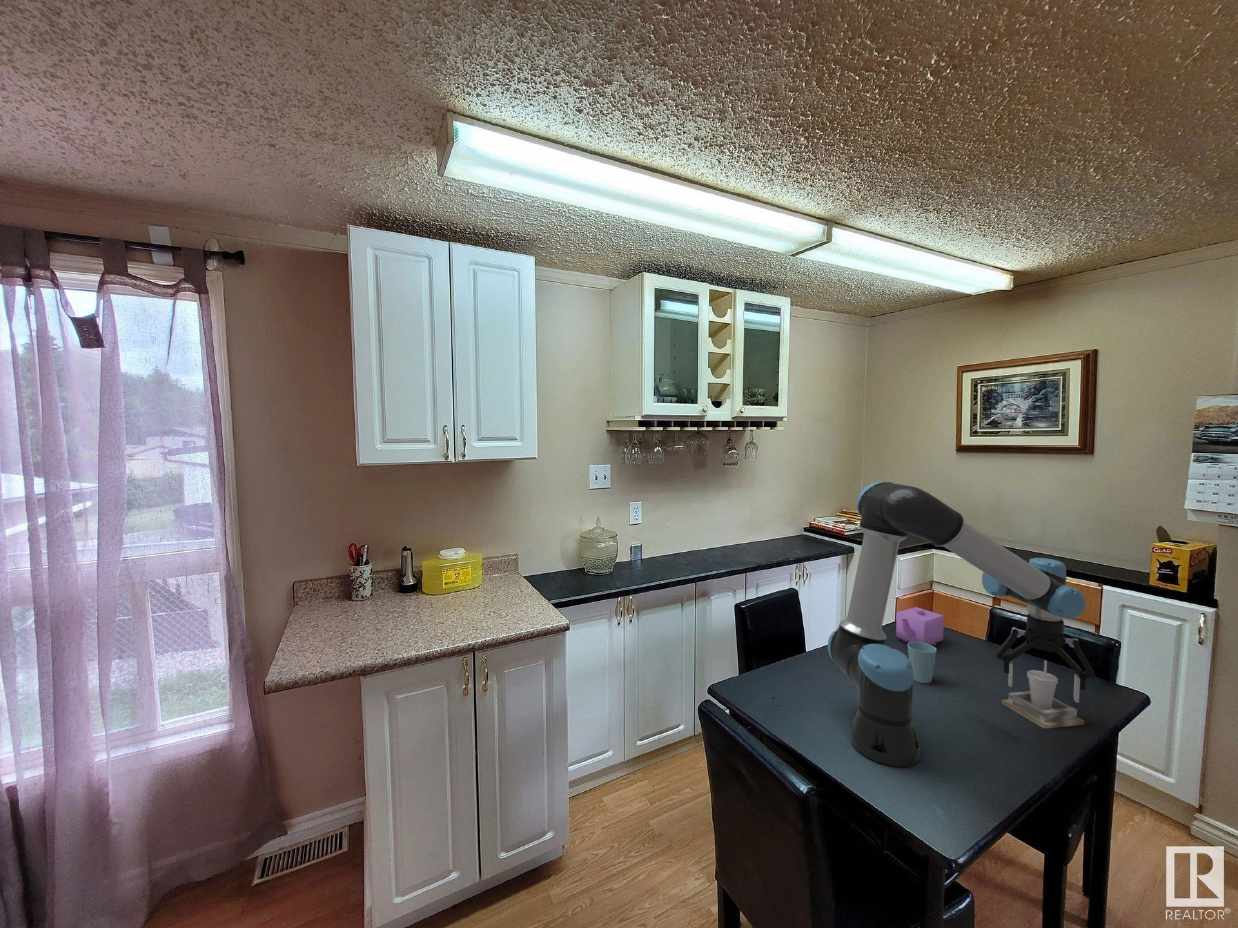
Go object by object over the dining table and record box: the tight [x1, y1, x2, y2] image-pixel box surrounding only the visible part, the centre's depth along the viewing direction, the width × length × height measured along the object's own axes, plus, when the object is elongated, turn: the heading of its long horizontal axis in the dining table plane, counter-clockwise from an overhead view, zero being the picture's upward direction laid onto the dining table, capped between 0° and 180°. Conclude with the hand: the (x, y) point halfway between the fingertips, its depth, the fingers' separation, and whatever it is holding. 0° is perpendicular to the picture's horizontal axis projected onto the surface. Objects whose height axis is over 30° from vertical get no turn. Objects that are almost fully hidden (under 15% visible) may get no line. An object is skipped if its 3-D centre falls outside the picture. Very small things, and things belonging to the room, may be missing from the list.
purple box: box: [895, 606, 945, 646], centre depth 176 cm, size 20×10×12 cm, turn 117°
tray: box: [1001, 690, 1085, 729], centre depth 132 cm, size 12×12×4 cm
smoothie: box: [1026, 659, 1059, 710], centre depth 131 cm, size 6×6×14 cm
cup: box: [907, 642, 937, 684], centre depth 151 cm, size 8×8×10 cm
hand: (1042, 692), depth 131 cm, fingers open, 13 cm apart
